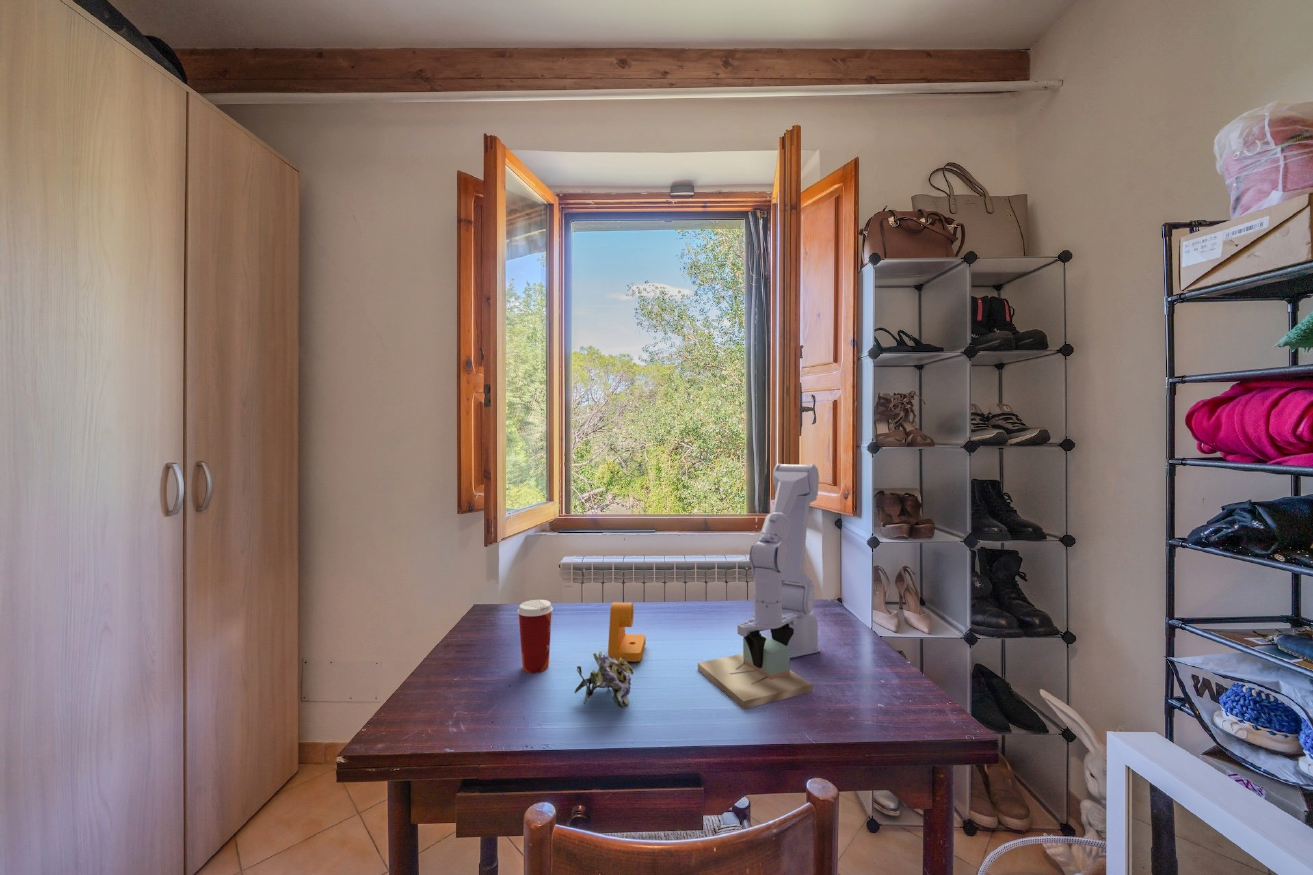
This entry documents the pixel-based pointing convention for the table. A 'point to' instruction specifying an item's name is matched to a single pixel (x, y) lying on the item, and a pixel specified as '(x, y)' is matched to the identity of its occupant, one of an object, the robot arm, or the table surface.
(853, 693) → the table surface
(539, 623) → the paper cup
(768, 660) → the block
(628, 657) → the bracket
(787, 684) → the birch board
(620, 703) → the passion flower
